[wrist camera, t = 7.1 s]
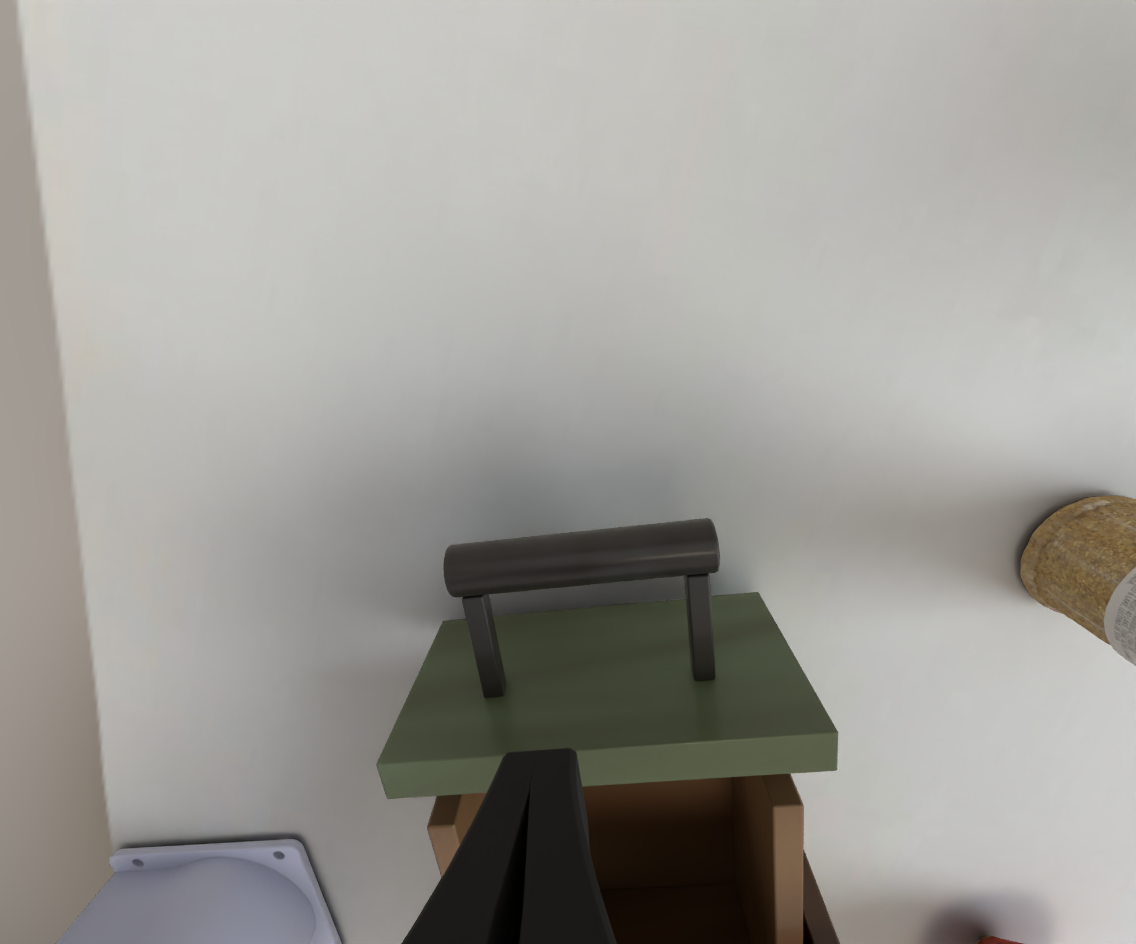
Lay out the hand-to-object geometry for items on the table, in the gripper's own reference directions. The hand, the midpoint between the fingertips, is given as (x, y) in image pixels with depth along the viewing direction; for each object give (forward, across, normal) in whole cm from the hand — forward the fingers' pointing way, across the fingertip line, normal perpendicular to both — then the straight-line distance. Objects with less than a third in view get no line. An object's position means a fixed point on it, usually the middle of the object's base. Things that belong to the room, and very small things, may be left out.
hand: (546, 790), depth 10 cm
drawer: (+9, -1, +6) cm, 11 cm away
